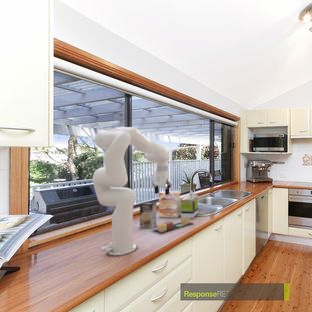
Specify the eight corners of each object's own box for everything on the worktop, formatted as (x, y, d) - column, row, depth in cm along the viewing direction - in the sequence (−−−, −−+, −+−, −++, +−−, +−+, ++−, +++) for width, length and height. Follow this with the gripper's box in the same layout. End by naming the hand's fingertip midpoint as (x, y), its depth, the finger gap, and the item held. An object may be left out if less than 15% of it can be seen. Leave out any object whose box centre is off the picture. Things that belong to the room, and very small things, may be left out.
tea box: (186, 213, 183) (186, 195, 183) (198, 213, 182) (198, 195, 182) (180, 218, 168) (180, 199, 168) (193, 218, 167) (193, 199, 167)
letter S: (167, 230, 139) (167, 223, 139) (164, 228, 142) (164, 222, 142) (173, 228, 143) (173, 222, 143) (169, 227, 145) (169, 221, 145)
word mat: (161, 234, 132) (161, 227, 132) (152, 231, 138) (152, 224, 138) (194, 224, 153) (194, 218, 153) (184, 221, 159) (184, 215, 159)
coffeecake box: (158, 217, 170) (158, 192, 170) (162, 215, 177) (162, 191, 177) (177, 217, 170) (177, 192, 170) (180, 215, 177) (180, 191, 177)
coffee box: (139, 228, 144) (139, 204, 144) (144, 225, 151) (144, 202, 151) (152, 228, 143) (152, 204, 143) (156, 225, 150) (156, 202, 150)
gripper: (148, 168, 148) (148, 193, 148) (167, 169, 140) (167, 195, 141) (156, 168, 155) (157, 192, 155) (175, 168, 147) (175, 194, 147)
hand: (161, 193), depth 148 cm, fingers open, 9 cm apart
